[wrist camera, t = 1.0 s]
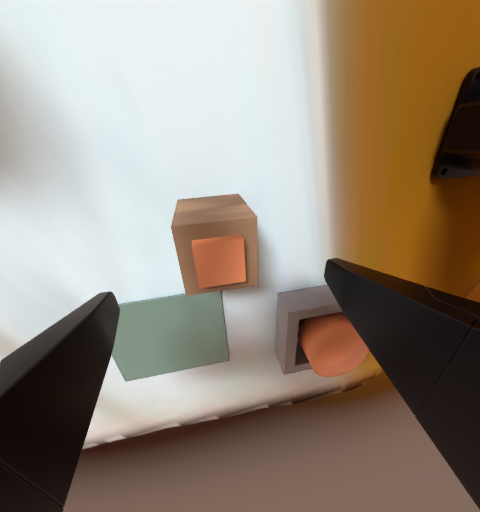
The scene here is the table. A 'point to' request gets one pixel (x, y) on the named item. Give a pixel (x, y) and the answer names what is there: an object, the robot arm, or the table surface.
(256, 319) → the table surface
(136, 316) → the board
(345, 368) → the button
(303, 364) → the button box
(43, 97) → the table surface
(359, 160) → the table surface
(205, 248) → the block
